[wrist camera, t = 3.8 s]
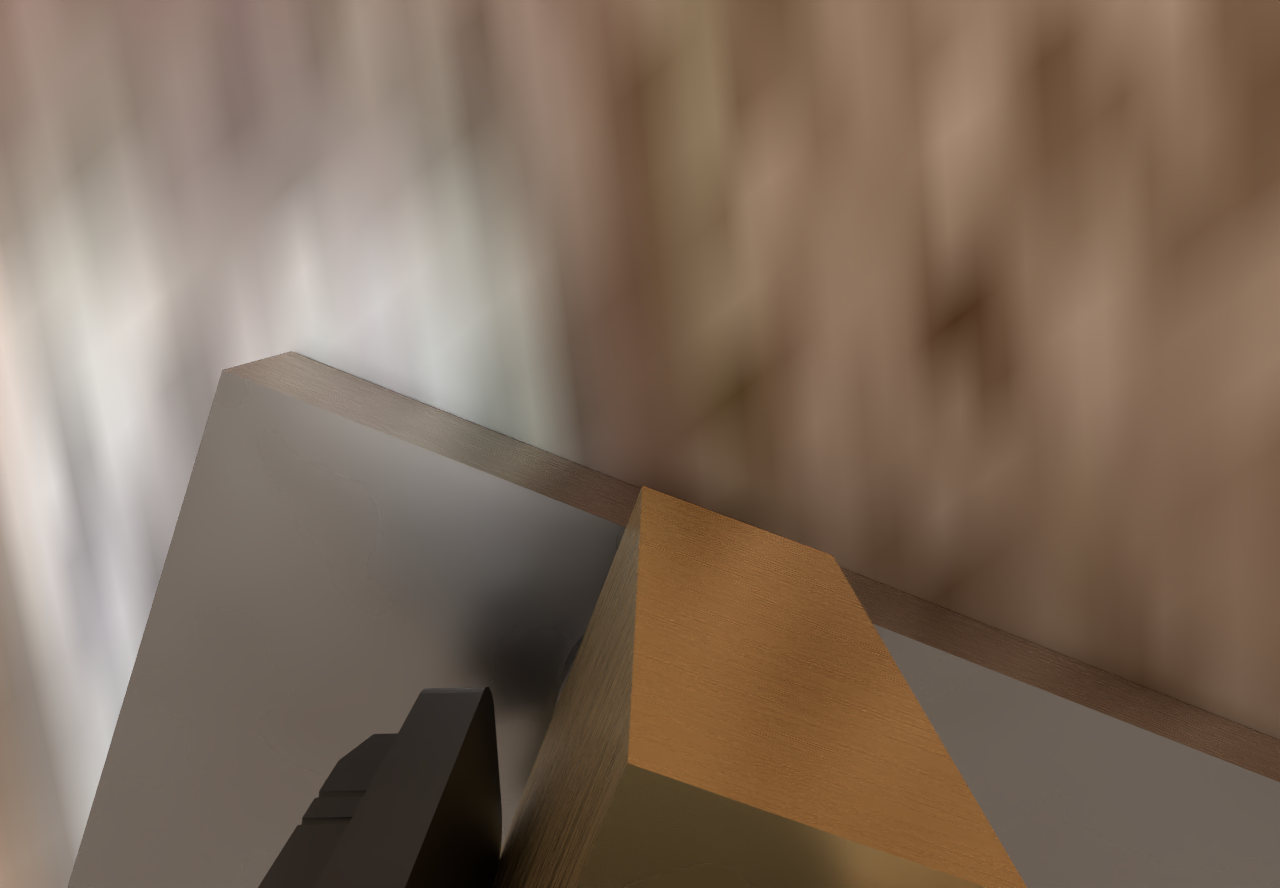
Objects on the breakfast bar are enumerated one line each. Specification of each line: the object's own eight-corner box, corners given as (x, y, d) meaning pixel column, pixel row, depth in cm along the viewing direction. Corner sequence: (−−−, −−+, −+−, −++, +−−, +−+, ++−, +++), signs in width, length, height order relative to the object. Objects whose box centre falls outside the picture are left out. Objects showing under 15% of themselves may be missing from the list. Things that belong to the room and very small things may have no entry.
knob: (812, 522, 11) (1108, 1025, 4) (650, 893, 12) (643, 1805, 5) (643, 459, 11) (622, 860, 4) (495, 841, 12) (264, 1700, 5)
